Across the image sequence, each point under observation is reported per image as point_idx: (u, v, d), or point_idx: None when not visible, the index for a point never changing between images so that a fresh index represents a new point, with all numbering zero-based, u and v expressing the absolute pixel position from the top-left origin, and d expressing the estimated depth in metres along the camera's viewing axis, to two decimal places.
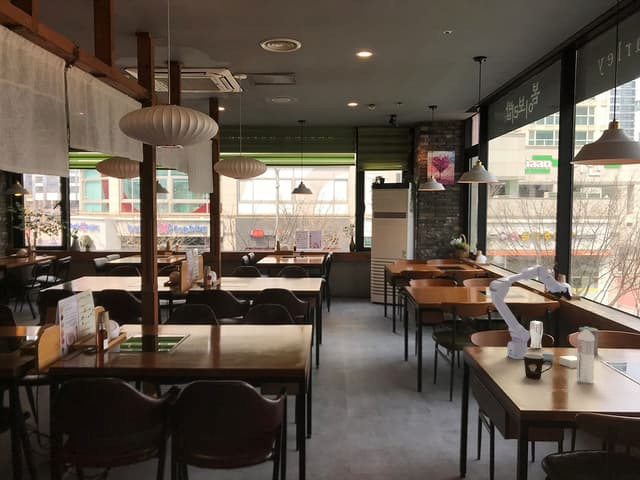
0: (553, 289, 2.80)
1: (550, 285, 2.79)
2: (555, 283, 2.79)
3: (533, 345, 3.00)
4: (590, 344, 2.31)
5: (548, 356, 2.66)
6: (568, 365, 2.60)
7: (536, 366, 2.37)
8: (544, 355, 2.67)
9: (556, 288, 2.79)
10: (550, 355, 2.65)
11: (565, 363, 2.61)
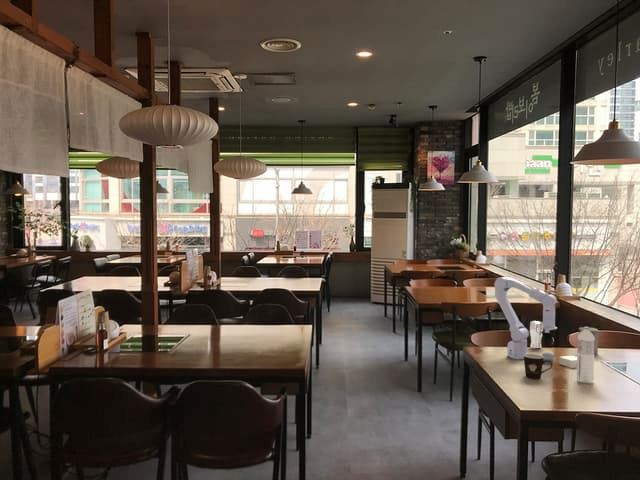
0: (543, 324, 2.68)
1: (544, 319, 2.67)
2: (549, 321, 2.65)
3: (533, 345, 3.00)
4: (590, 344, 2.31)
5: (548, 356, 2.66)
6: (568, 365, 2.60)
7: (536, 366, 2.37)
8: (544, 355, 2.67)
9: (546, 326, 2.66)
10: (550, 355, 2.65)
11: (566, 363, 2.61)
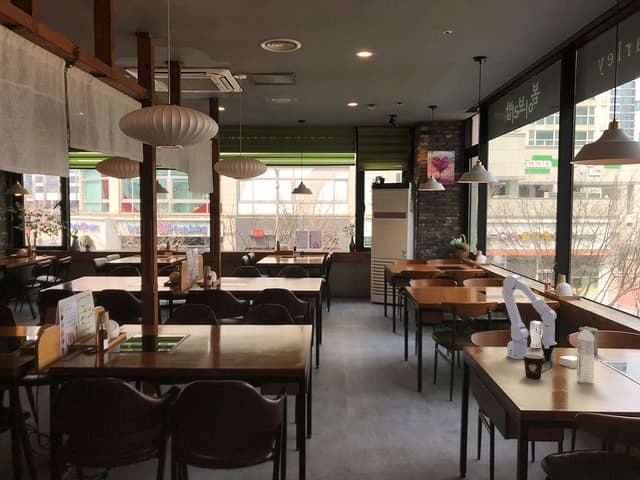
0: (543, 340, 2.68)
1: (544, 334, 2.67)
2: (549, 337, 2.65)
3: (533, 345, 3.00)
4: (590, 344, 2.31)
5: None
6: (569, 365, 2.59)
7: (536, 366, 2.37)
8: None
9: (545, 341, 2.66)
10: None
11: (566, 363, 2.61)
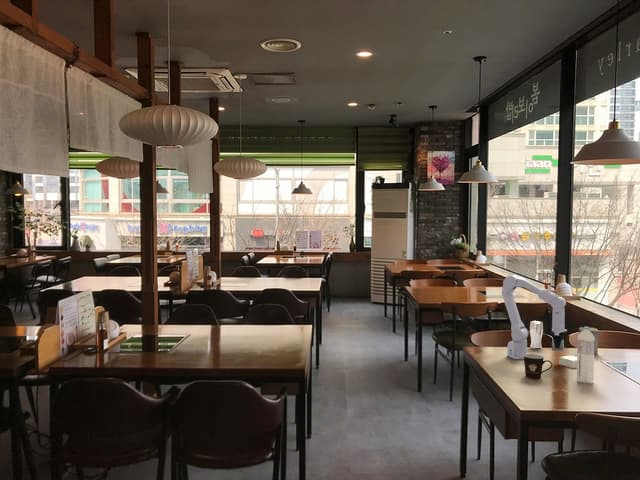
0: (553, 327, 2.65)
1: (554, 321, 2.65)
2: (559, 324, 2.63)
3: (533, 345, 3.00)
4: (590, 344, 2.31)
5: None
6: (570, 365, 2.59)
7: (536, 366, 2.37)
8: None
9: (555, 328, 2.64)
10: None
11: (567, 363, 2.61)
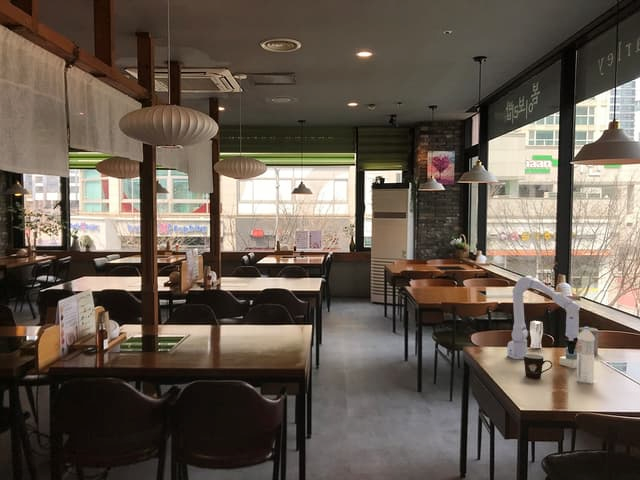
0: (567, 332, 2.62)
1: (568, 326, 2.62)
2: (573, 329, 2.60)
3: (533, 345, 3.00)
4: (590, 344, 2.31)
5: None
6: (570, 365, 2.59)
7: (536, 366, 2.37)
8: None
9: (569, 333, 2.61)
10: (574, 350, 2.60)
11: (567, 363, 2.61)
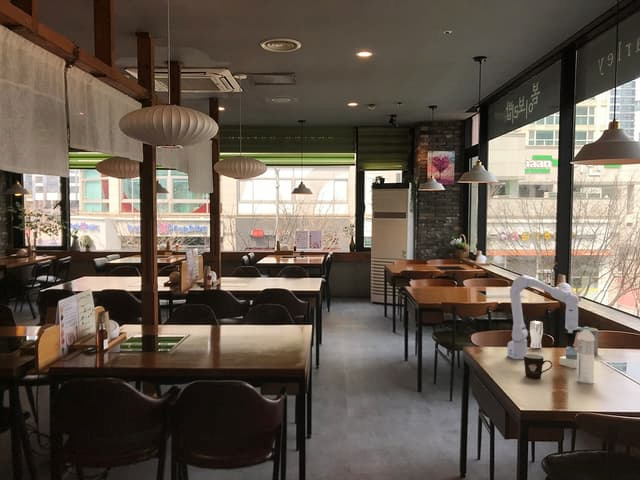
0: (566, 324, 2.63)
1: (567, 319, 2.62)
2: (572, 321, 2.60)
3: (533, 345, 3.00)
4: (590, 344, 2.31)
5: (572, 351, 2.61)
6: (570, 365, 2.59)
7: (536, 366, 2.37)
8: (568, 350, 2.62)
9: (569, 326, 2.61)
10: (574, 350, 2.60)
11: (567, 363, 2.61)
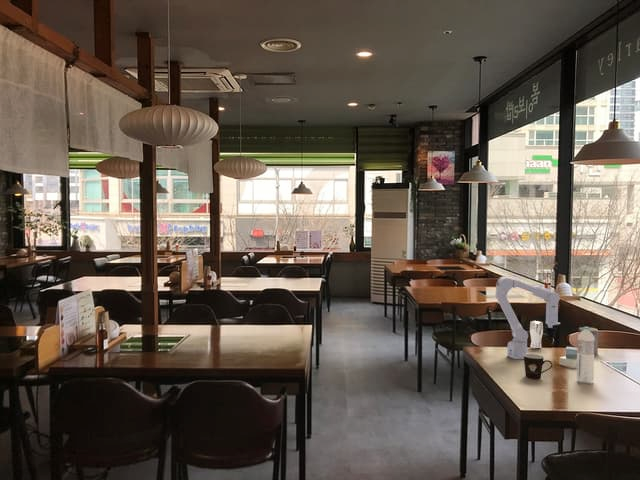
0: (546, 320, 2.76)
1: (547, 314, 2.75)
2: (552, 317, 2.73)
3: (533, 345, 3.00)
4: (590, 344, 2.31)
5: (572, 351, 2.61)
6: (570, 365, 2.59)
7: (536, 366, 2.37)
8: (568, 350, 2.62)
9: (549, 321, 2.74)
10: (574, 350, 2.61)
11: (567, 363, 2.61)
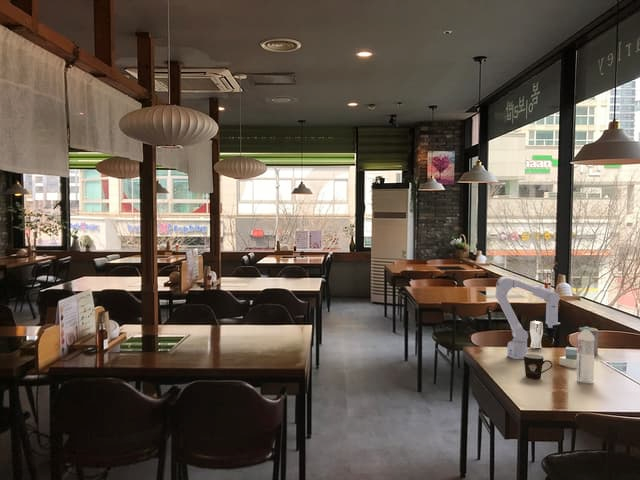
0: (546, 320, 2.76)
1: (547, 314, 2.75)
2: (552, 317, 2.73)
3: (533, 345, 3.00)
4: (590, 344, 2.31)
5: (571, 351, 2.61)
6: (570, 366, 2.59)
7: (536, 366, 2.37)
8: (568, 350, 2.62)
9: (549, 321, 2.74)
10: (574, 350, 2.60)
11: (567, 363, 2.60)
